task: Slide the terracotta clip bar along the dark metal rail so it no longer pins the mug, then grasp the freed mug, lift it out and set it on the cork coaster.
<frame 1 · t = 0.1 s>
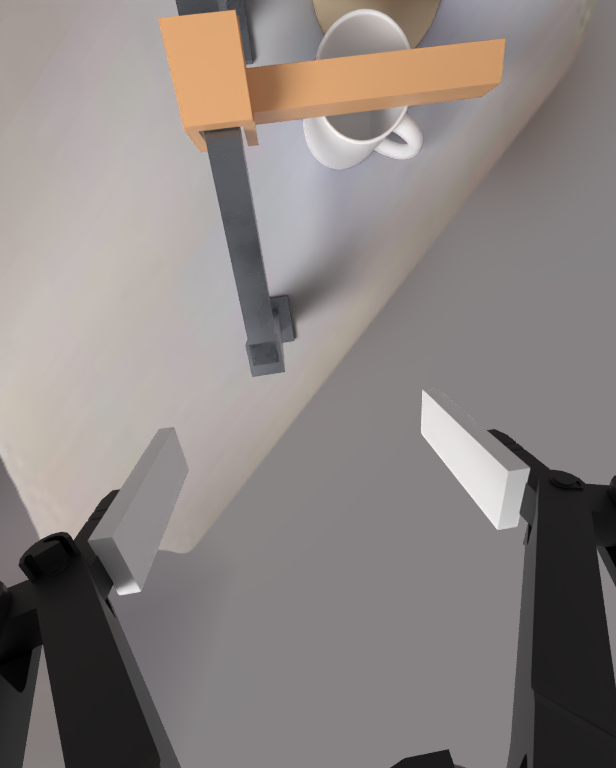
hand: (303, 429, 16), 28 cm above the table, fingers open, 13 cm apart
mug: (353, 137, 35), on the table
rail frame: (246, 198, 36), on the table
clip: (347, 76, 22), point 14 cm above the table, slide at 0.0 cm
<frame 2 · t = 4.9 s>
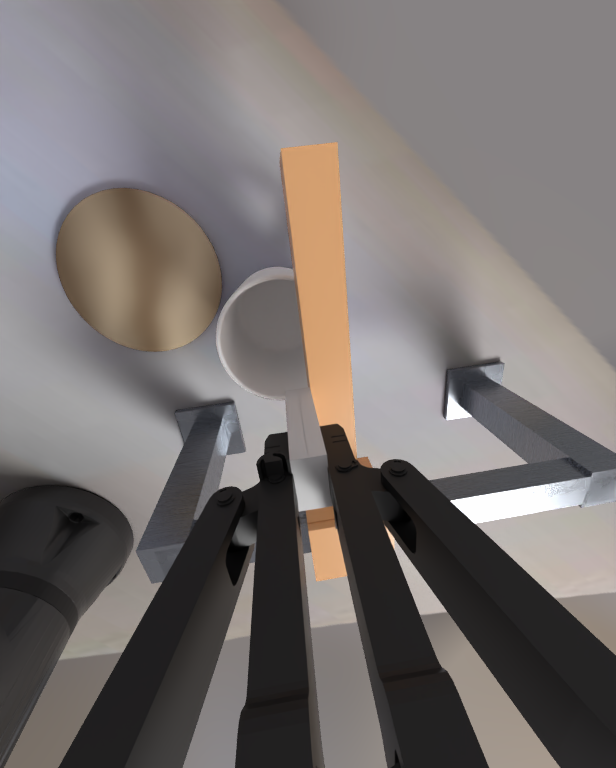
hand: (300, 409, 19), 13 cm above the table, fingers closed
mug: (287, 294, 29), on the table
coaster: (144, 277, 27), on the table
rail frame: (344, 410, 34), on the table
clip: (333, 393, 17), point 14 cm above the table, slide at 1.4 cm, touching gripper
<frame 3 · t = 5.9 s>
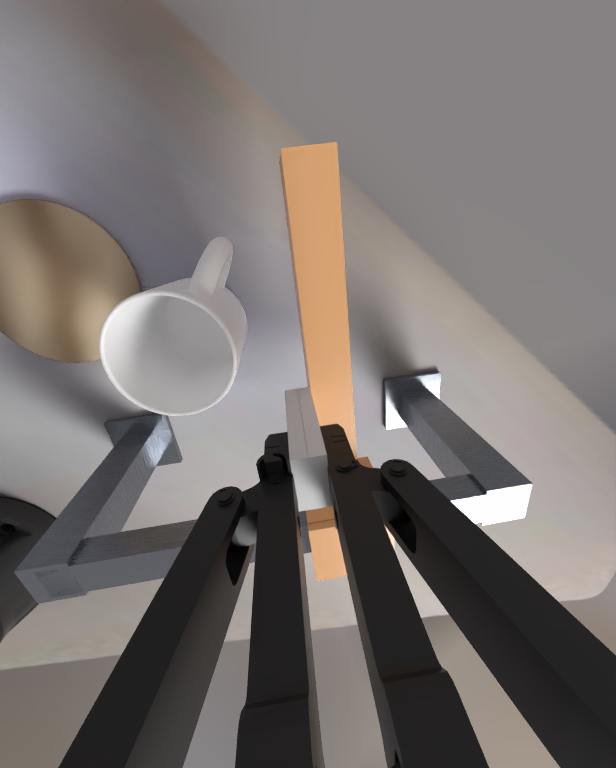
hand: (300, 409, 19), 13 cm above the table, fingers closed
mug: (211, 304, 28), on the table
coaster: (60, 288, 26), on the table
rail frame: (281, 419, 34), on the table
clip: (333, 393, 17), point 14 cm above the table, slide at 8.5 cm, touching gripper
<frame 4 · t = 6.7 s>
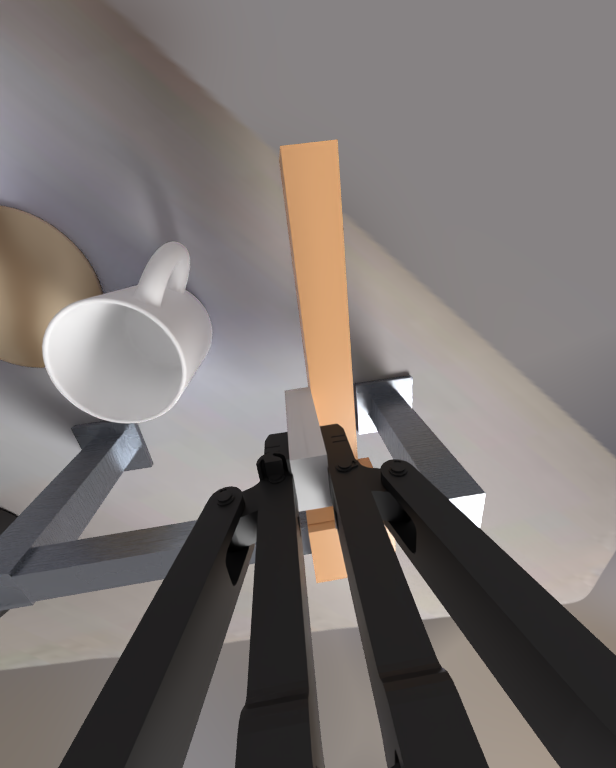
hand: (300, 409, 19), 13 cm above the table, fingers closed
mug: (175, 308, 28), on the table
coaster: (21, 293, 26), on the table
rail frame: (251, 424, 33), on the table
clip: (333, 394, 17), point 14 cm above the table, slide at 11.7 cm, touching gripper
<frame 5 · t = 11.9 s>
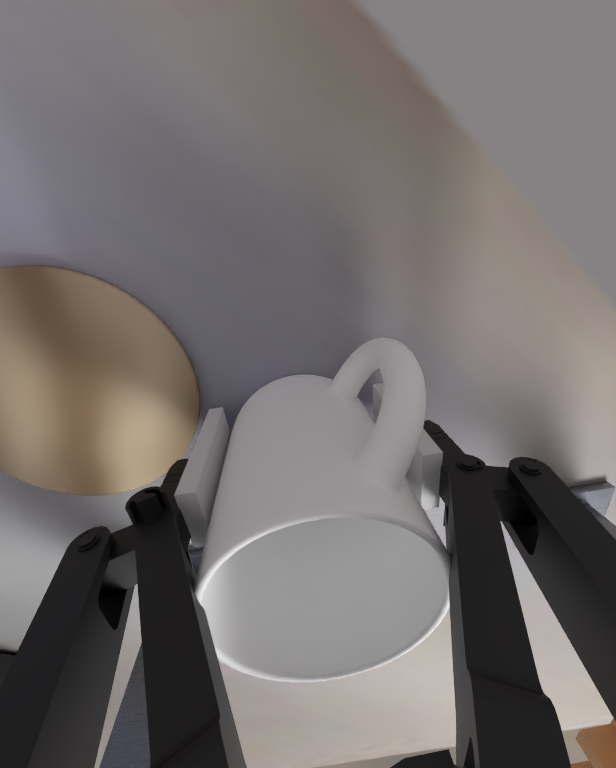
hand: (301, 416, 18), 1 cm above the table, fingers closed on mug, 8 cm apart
mug: (315, 406, 19), on the table, touching gripper
coaster: (75, 394, 17), on the table
rail frame: (381, 547, 24), on the table
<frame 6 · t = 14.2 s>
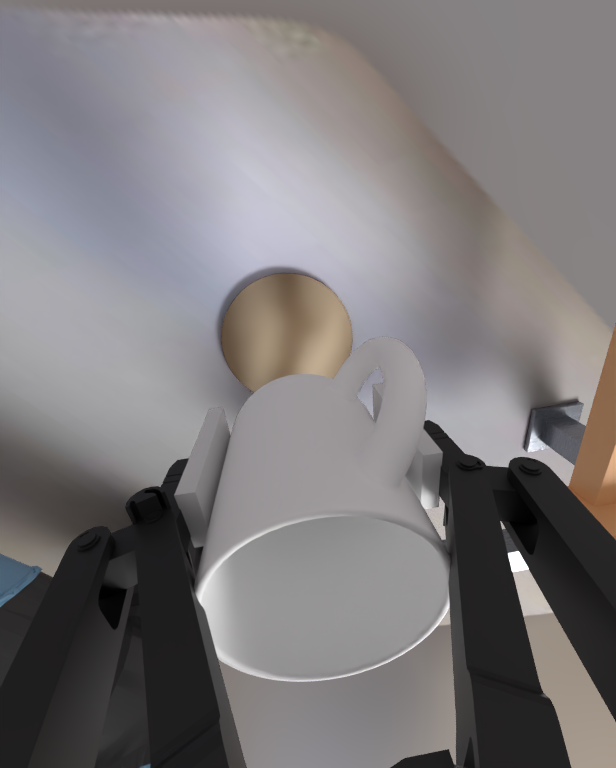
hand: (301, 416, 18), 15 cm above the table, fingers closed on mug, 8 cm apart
mug: (315, 405, 19), point 14 cm above the table, touching gripper
coaster: (288, 340, 31), on the table
rail frame: (438, 444, 39), on the table
when the fingers open (3 cm above the table, at t = 17.0 s): mug drops 1 cm, resting on coaster.
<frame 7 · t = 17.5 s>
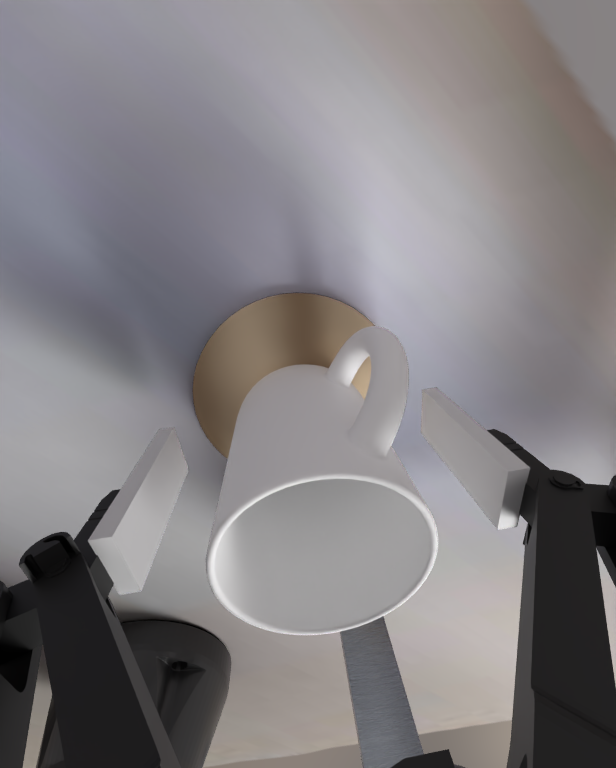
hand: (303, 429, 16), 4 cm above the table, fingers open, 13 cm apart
mug: (314, 394, 20), resting on coaster
coaster: (298, 395, 20), on the table
rail frame: (505, 528, 27), on the table
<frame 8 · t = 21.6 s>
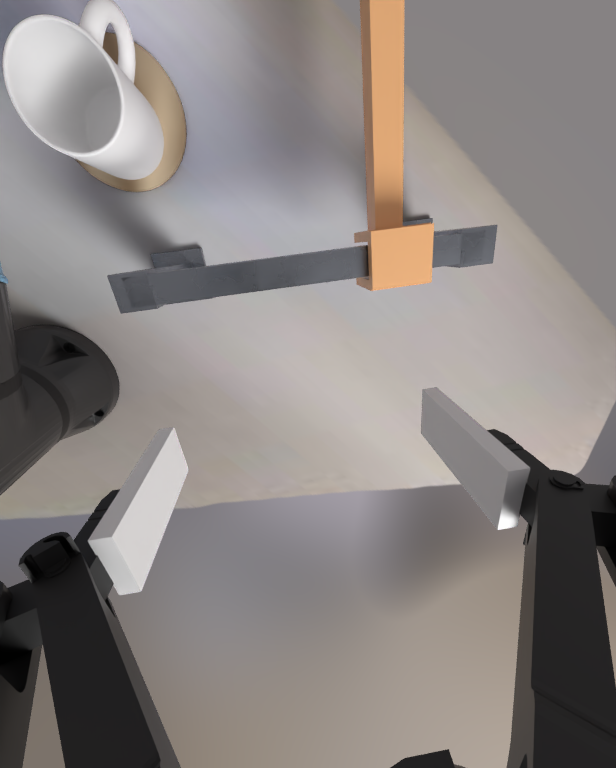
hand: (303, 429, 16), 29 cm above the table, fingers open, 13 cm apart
mug: (130, 116, 32), resting on coaster
coaster: (122, 120, 33), on the table
rail frame: (297, 261, 40), on the table
clip: (389, 127, 24), point 14 cm above the table, slide at 11.9 cm
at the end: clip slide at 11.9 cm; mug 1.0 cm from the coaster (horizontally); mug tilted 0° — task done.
